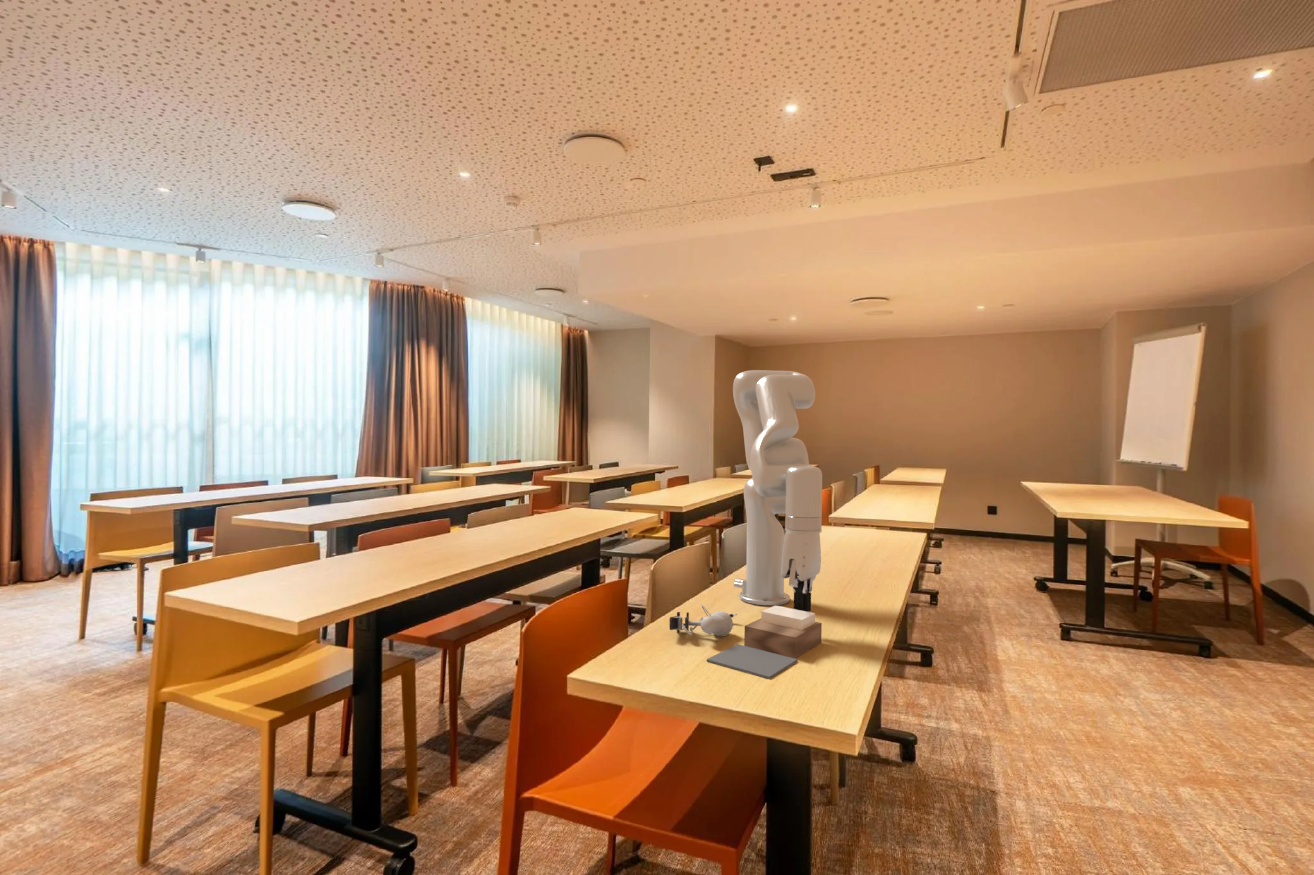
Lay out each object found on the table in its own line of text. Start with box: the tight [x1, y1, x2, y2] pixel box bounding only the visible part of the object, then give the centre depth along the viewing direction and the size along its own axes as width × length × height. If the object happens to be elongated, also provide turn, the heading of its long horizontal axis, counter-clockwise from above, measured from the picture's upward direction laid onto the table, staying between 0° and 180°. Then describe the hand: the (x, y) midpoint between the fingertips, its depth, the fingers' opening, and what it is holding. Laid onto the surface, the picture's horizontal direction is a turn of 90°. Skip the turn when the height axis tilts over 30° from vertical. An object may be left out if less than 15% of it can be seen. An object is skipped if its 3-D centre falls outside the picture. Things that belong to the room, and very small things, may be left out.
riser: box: [743, 618, 823, 659], centre depth 127 cm, size 11×12×4 cm
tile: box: [760, 605, 816, 630], centre depth 128 cm, size 9×6×2 cm, turn 52°
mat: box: [706, 643, 798, 680], centre depth 117 cm, size 13×11×1 cm
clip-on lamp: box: [669, 603, 738, 637], centre depth 134 cm, size 12×6×18 cm
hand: (802, 610), depth 133 cm, fingers closed
